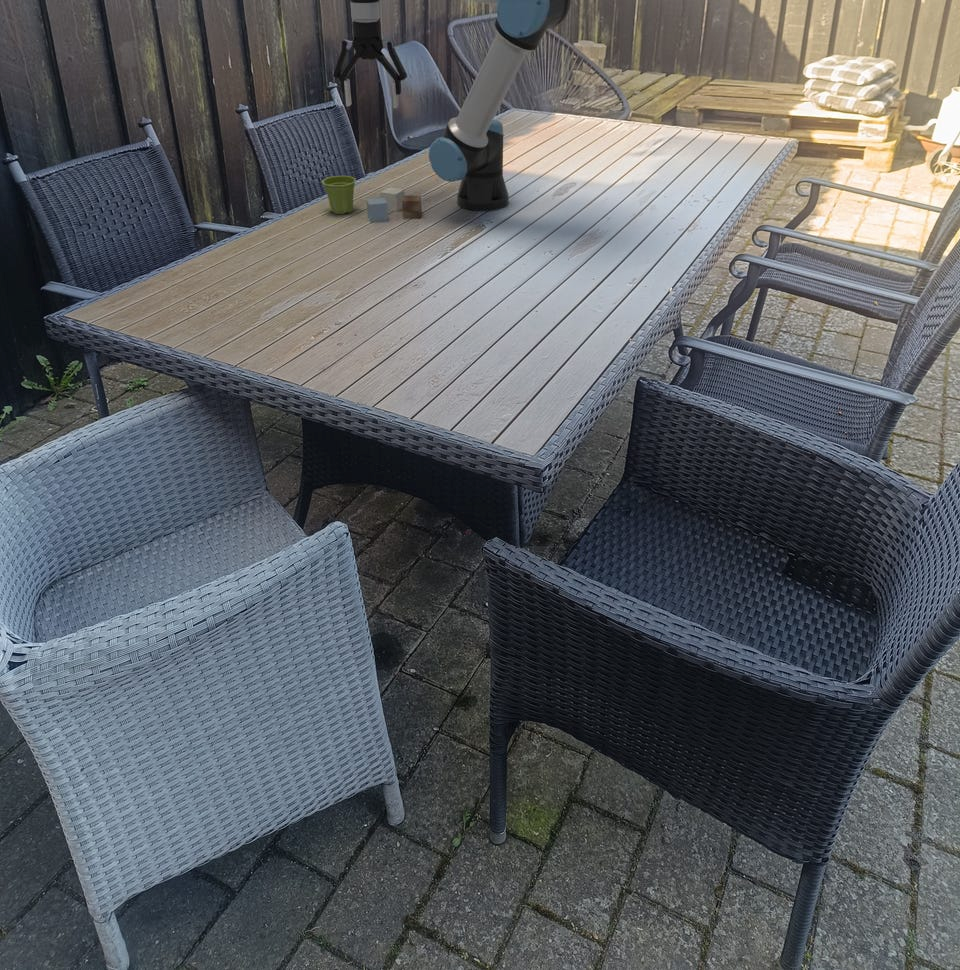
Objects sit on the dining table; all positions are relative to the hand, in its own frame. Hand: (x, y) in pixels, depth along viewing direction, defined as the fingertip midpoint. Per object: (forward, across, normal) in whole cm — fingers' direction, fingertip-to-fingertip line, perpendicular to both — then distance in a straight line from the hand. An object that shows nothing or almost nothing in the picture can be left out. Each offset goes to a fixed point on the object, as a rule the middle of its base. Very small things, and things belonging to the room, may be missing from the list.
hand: (372, 106), depth 235 cm
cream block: (+26, -6, +6) cm, 28 cm away
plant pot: (+26, +8, +11) cm, 30 cm away
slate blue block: (+26, -4, +16) cm, 31 cm away
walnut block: (+26, -13, +12) cm, 31 cm away
